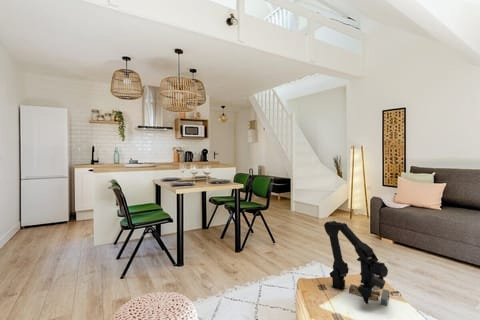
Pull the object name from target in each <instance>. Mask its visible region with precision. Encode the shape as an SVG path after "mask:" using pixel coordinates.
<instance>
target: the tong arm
mask: <svg viewBox="0 0 480 320" xmlns="http://www.w3.org/2000/svg"><path fill="white" fill-rule="evenodd" d="M349 289H353V290H356V291H355V295H356V296H358V297H362V295H361V293H360V292H358V290H357V288H355V287H352V286H350V285H349V287H348V290H349ZM379 298H380V297H379V296H378V295H374V294H371V297H369V300H373V301H377V302H379V300H380V299H379Z"/></svg>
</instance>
